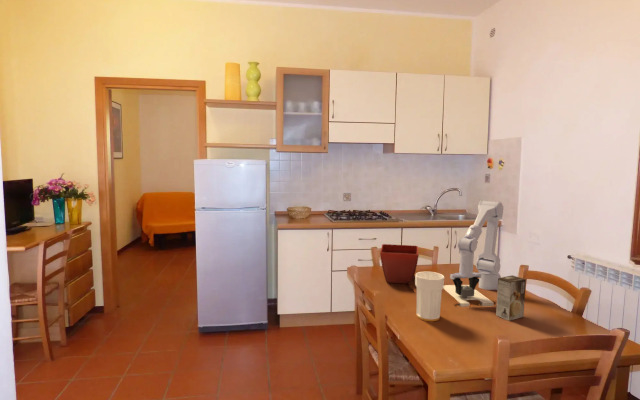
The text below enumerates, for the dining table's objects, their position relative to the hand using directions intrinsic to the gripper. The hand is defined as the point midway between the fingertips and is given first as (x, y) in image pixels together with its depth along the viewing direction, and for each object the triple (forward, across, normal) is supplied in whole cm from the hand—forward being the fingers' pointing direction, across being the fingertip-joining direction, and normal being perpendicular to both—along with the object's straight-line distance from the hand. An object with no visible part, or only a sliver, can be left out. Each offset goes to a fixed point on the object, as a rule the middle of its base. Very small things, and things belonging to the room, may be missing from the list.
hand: (464, 293), depth 177 cm
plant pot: (+4, +18, -34) cm, 38 cm away
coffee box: (+3, -9, +19) cm, 21 cm away
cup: (+3, +25, +14) cm, 29 cm away
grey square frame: (0, 0, 0) cm, 0 cm away
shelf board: (+3, -3, -5) cm, 6 cm away
